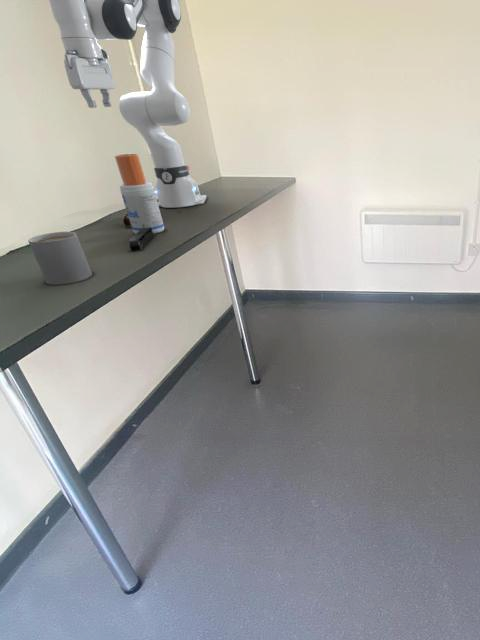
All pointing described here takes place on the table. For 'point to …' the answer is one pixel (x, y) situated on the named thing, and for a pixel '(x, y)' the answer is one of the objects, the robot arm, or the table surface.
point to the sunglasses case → (127, 221)
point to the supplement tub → (142, 207)
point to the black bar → (141, 239)
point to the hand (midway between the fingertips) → (100, 107)
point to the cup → (130, 169)
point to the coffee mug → (60, 257)
